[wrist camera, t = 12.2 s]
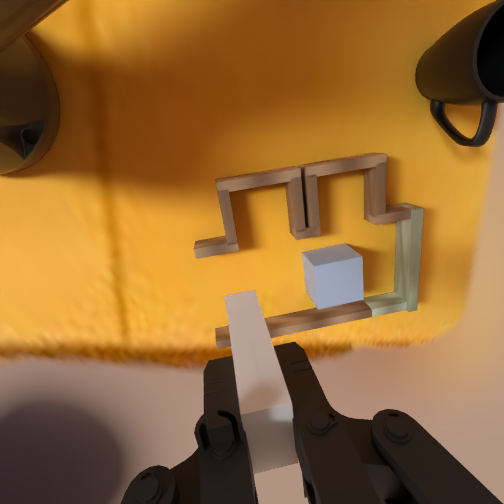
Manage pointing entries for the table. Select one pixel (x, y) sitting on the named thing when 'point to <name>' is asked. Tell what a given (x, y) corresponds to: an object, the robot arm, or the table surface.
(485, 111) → the mug
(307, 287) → the block
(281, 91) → the table surface
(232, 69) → the table surface
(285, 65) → the table surface
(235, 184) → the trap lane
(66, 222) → the table surface
